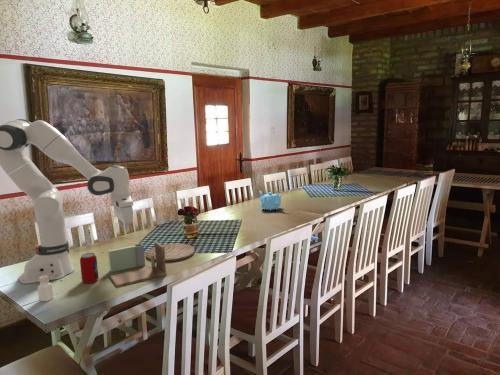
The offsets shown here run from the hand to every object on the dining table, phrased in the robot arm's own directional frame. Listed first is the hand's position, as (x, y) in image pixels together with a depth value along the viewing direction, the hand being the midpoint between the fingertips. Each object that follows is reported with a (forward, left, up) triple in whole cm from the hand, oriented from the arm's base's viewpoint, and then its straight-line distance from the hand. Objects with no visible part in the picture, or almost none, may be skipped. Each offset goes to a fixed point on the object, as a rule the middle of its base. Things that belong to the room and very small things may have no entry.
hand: (124, 228), depth 177 cm
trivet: (+24, +6, -20) cm, 32 cm away
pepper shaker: (-36, -15, -20) cm, 43 cm away
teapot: (+125, +55, -20) cm, 138 cm away
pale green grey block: (0, 0, -19) cm, 19 cm away
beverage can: (-18, -6, -20) cm, 27 cm away
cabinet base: (+1, -14, -19) cm, 24 cm away
